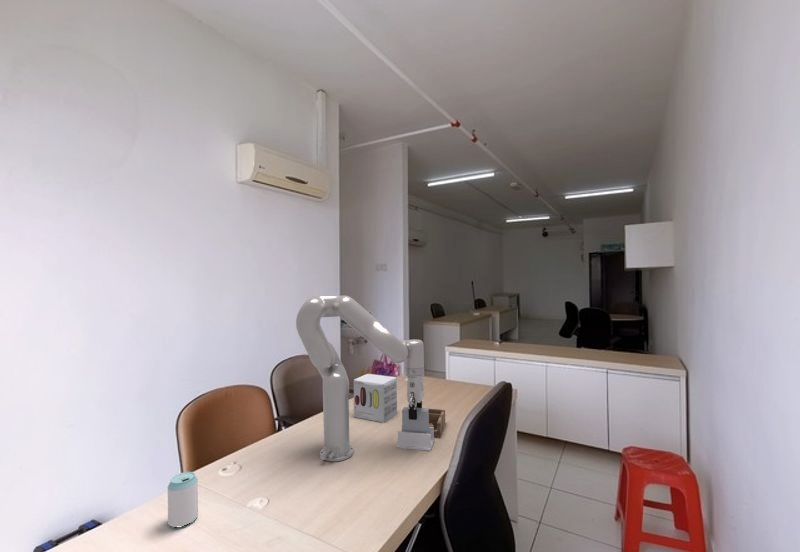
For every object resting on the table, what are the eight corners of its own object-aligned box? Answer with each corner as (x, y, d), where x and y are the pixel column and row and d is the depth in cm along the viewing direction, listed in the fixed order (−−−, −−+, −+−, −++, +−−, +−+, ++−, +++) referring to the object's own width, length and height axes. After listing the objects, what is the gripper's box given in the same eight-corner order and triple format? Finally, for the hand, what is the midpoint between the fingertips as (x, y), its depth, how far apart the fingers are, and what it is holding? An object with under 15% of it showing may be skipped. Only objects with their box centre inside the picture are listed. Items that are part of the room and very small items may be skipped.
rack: (440, 438, 148) (439, 422, 148) (402, 434, 152) (402, 419, 152) (445, 423, 163) (445, 408, 164) (411, 420, 167) (410, 406, 168)
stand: (430, 451, 137) (430, 435, 137) (397, 447, 140) (397, 432, 140) (434, 440, 146) (434, 426, 146) (403, 438, 149) (402, 423, 149)
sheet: (427, 445, 140) (427, 411, 140) (402, 443, 142) (401, 409, 142) (429, 441, 143) (428, 408, 143) (404, 439, 146) (404, 406, 146)
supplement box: (353, 417, 173) (352, 379, 173) (368, 408, 184) (367, 373, 185) (384, 423, 165) (383, 383, 165) (398, 414, 176) (397, 376, 177)
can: (203, 512, 103) (202, 469, 103) (189, 529, 96) (188, 483, 96) (177, 513, 102) (177, 470, 103) (162, 530, 95) (161, 484, 96)
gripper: (419, 377, 134) (420, 424, 134) (427, 366, 151) (428, 408, 150) (400, 376, 136) (400, 422, 136) (410, 365, 153) (411, 406, 152)
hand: (415, 414), depth 143 cm, fingers open, 9 cm apart
